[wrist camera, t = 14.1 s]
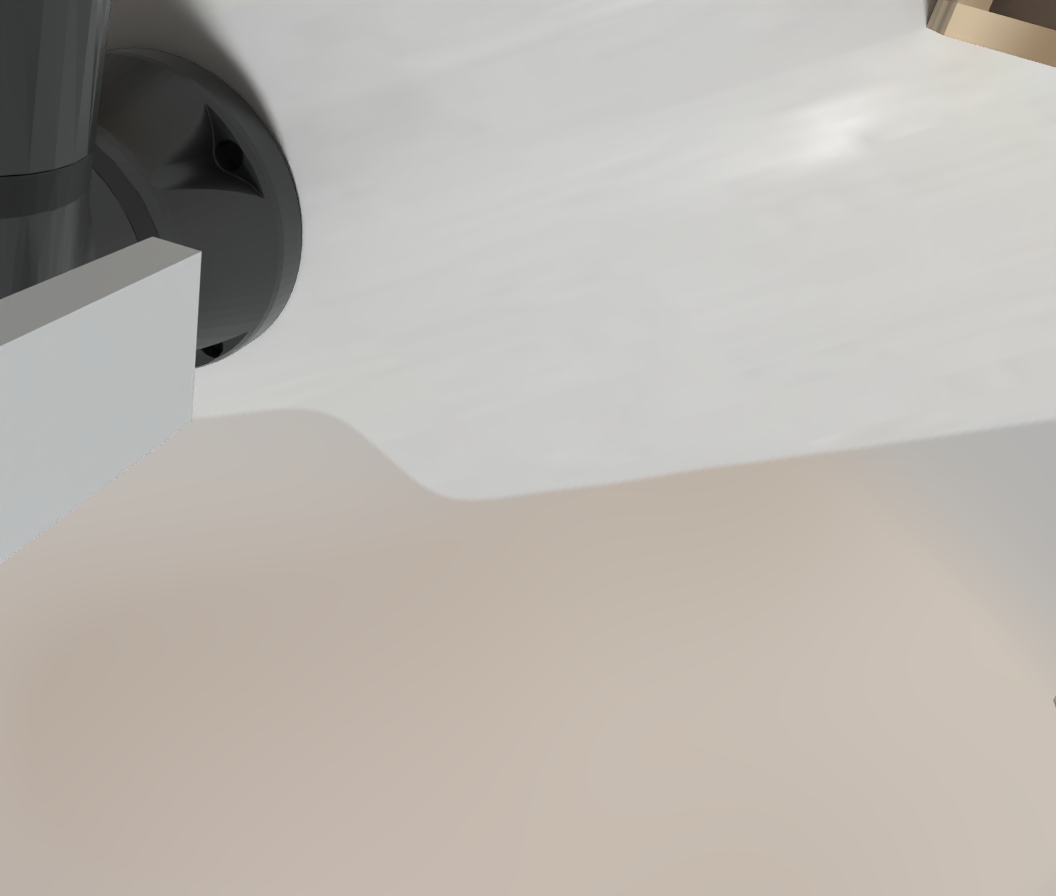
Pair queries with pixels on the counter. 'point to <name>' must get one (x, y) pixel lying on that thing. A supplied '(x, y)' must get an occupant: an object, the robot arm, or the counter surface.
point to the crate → (993, 30)
